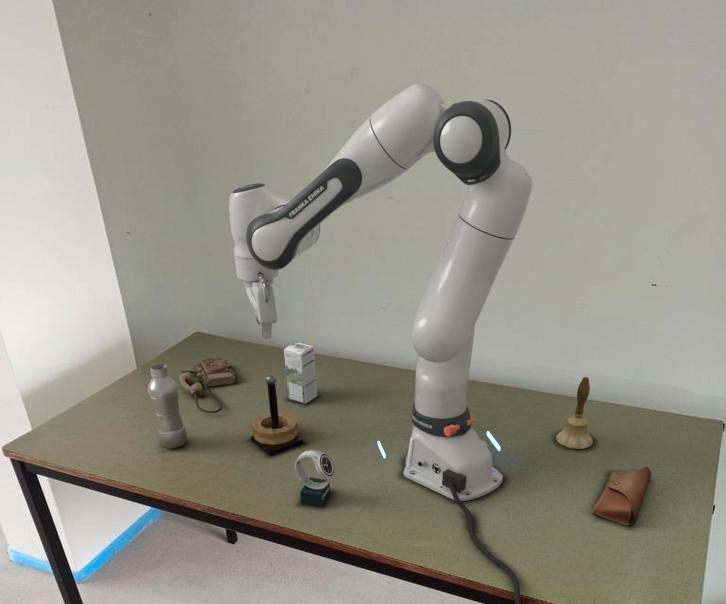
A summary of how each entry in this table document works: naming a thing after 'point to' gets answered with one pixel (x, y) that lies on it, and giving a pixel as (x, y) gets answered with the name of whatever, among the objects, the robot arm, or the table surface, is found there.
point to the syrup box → (300, 372)
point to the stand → (275, 423)
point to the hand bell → (577, 422)
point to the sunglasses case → (623, 496)
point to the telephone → (208, 378)
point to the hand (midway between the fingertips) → (263, 330)
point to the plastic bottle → (166, 407)
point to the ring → (275, 435)
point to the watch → (314, 487)
